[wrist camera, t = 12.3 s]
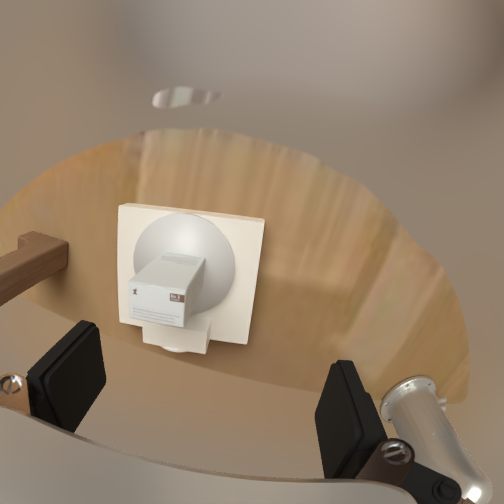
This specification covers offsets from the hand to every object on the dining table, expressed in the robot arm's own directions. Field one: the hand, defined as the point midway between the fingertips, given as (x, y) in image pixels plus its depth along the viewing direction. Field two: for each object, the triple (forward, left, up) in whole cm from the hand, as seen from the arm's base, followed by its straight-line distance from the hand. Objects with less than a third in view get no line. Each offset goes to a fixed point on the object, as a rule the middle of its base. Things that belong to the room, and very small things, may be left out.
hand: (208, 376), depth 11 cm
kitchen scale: (+8, +8, -32) cm, 34 cm away
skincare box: (+8, +6, -28) cm, 30 cm away
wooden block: (+34, +8, -32) cm, 48 cm away
